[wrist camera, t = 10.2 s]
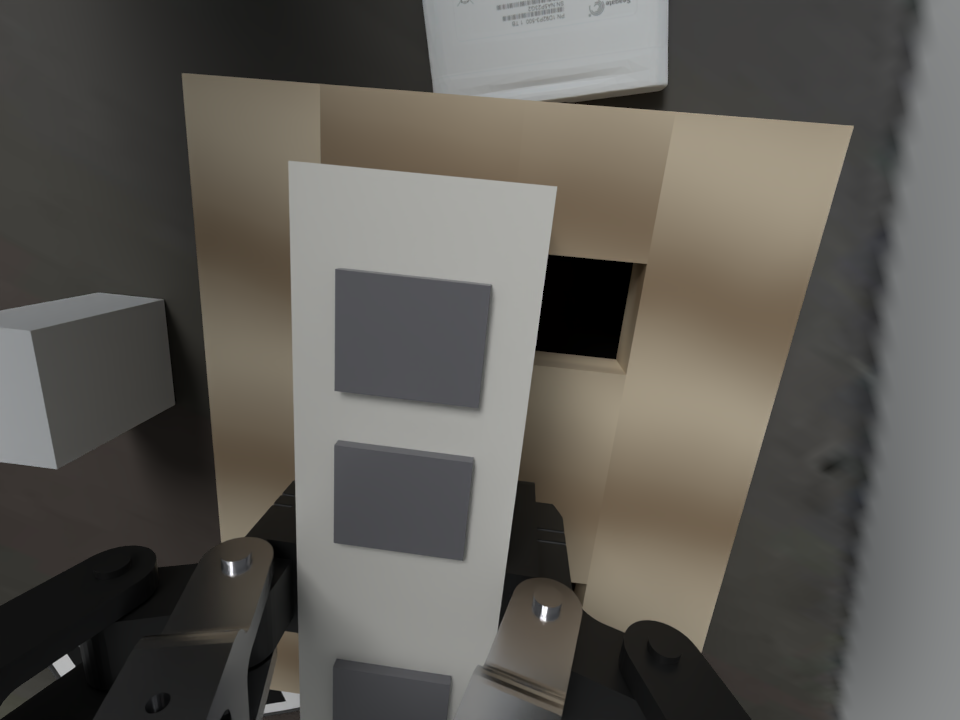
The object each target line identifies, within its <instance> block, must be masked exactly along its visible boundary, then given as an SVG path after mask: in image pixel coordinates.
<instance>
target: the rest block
mask: <svg viewBox="0 0 960 720" xmlns="http://www.w3.org/2000/svg"><path fill="white" fill-rule="evenodd" d="M174 405H175V397H174V388H173V379H172V370H171V360H170V351H169V342H168V332H167V323H166V314H165V305H164V299H155V298H146V297H136V296H127V295H117V294H108V293H94V294H88V295H83V296H78V297H72V298H67V299H61V300H56V301H50V302H45V303H39V304H34V305H28V306H23V307H17V308H12V309H7V310H1V311H0V462H5V463H13V464H21V465H29V466H36V467H44V468H52V469H58V468H60V467H62V466H64V465H66V464H68V463H69V462H71V461H73V460H75V459H77V458H79V457H80V456H82V455H84V454H86V453H88V452H90V451H91V450H93V449H95V448H97V447H99V446H101V445H102V444H104V443H106V442H108V441H110V440H112V439H113V438H115V437H117V436H119V435H121V434H123V433H124V432H126V431H128V430H130V429H132V428H134V427H135V426H137V425H139V424H141V423H143V422H145V421H146V420H148V419H150V418H152V417H154V416H155V415H157V414H159V413H161V412H163V411H165V410H166V409H168V408H170V407H172V406H174Z"/></svg>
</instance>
